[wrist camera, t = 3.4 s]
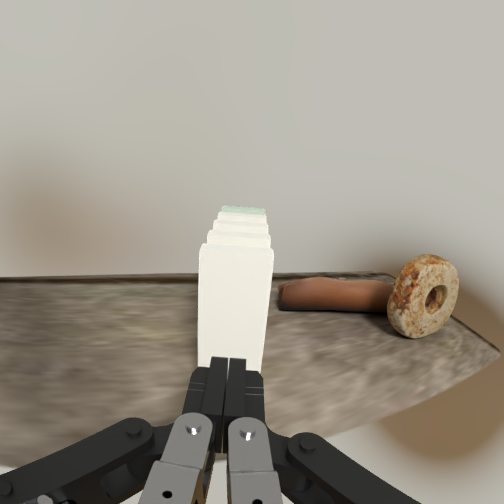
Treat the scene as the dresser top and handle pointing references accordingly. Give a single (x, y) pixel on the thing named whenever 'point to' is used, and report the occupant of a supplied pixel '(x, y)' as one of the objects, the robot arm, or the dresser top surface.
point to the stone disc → (423, 296)
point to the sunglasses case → (335, 295)
